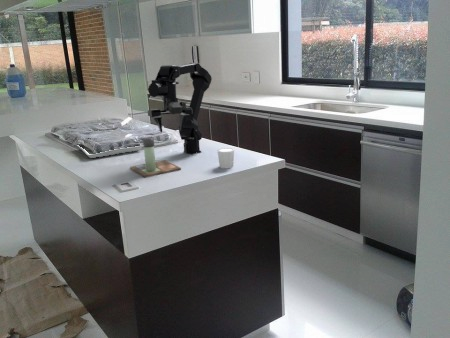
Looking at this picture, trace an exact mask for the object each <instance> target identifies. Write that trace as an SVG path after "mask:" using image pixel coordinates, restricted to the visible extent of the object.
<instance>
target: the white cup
mask: <svg viewBox="0 0 450 338" xmlns="http://www.w3.org/2000/svg"><path fill="white" fill-rule="evenodd" d="M217 156H218V158H217V159H218V162H219V163H218V164H219V165H218V166H219V168H221V169H231V168H233V167H234V163H235V162H234V159H235V157H234V156H235V149H234V148H229V147H227V148H225V147H224V148H220V149H218V150H217Z"/></svg>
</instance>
